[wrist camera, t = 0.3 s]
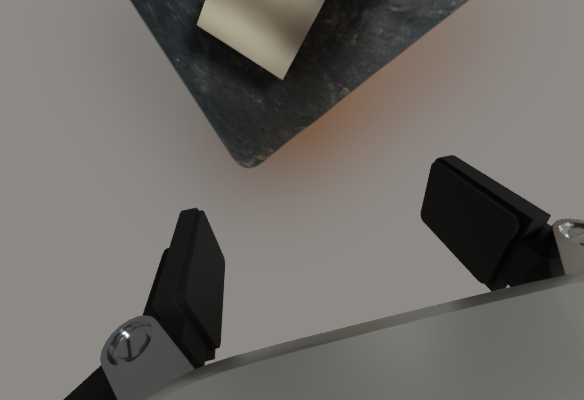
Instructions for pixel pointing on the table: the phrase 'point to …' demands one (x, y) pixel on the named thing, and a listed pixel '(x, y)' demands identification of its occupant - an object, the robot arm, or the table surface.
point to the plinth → (261, 28)
